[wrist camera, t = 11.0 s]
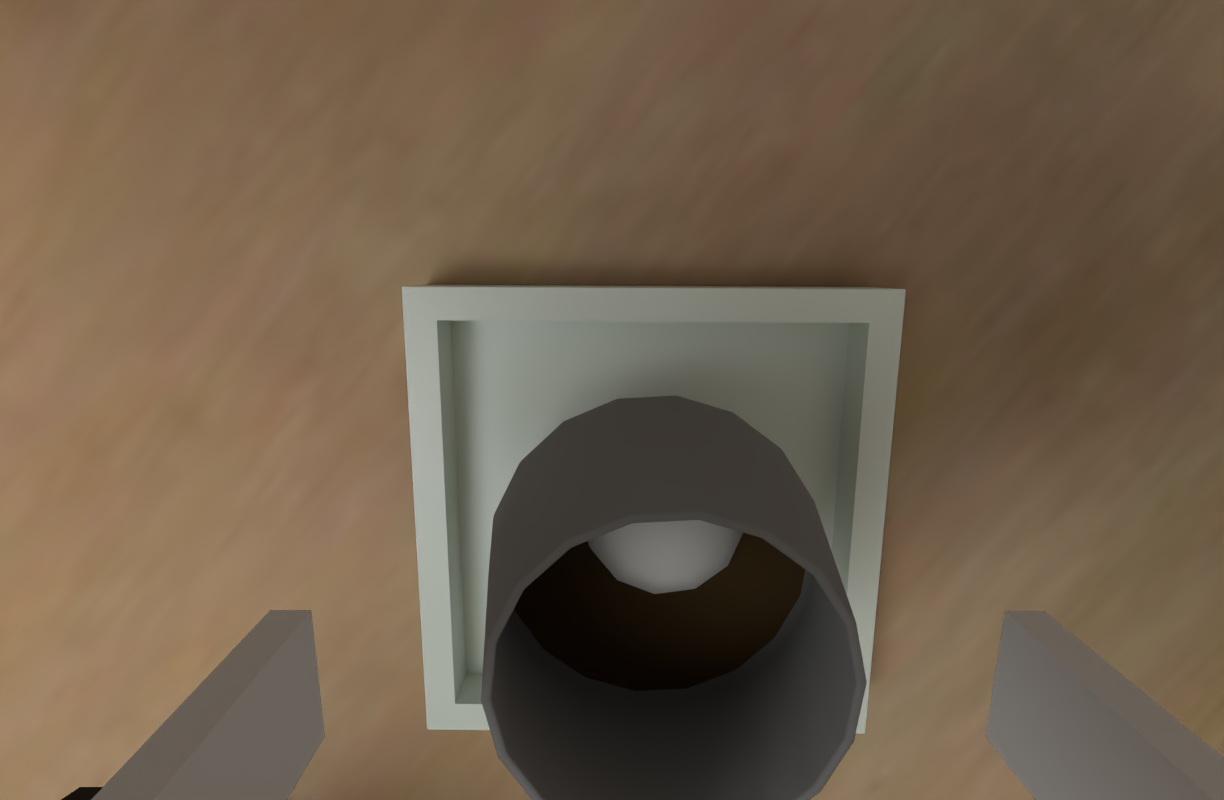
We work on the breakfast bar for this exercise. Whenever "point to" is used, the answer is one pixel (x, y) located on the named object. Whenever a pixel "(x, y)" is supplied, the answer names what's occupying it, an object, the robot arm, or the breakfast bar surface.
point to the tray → (632, 368)
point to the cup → (666, 615)
